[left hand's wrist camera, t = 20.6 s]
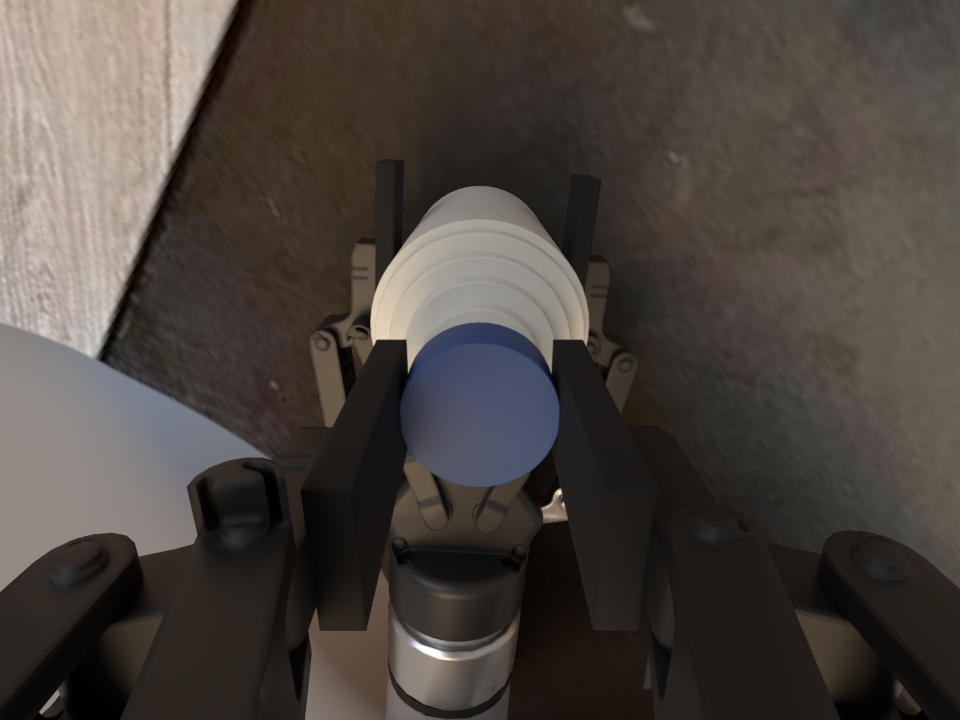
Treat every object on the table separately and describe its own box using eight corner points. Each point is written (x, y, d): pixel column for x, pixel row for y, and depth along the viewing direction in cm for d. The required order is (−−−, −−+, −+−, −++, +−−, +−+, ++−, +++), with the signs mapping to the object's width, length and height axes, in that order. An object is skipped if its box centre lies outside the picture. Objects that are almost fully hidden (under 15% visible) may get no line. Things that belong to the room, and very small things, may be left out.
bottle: (386, 233, 31) (262, 362, 13) (502, 158, 29) (535, 188, 12) (460, 341, 33) (437, 572, 16) (570, 275, 32) (683, 449, 14)
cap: (583, 390, 15) (594, 418, 13) (480, 478, 16) (480, 514, 14) (479, 290, 14) (479, 308, 12) (376, 391, 15) (365, 419, 13)
